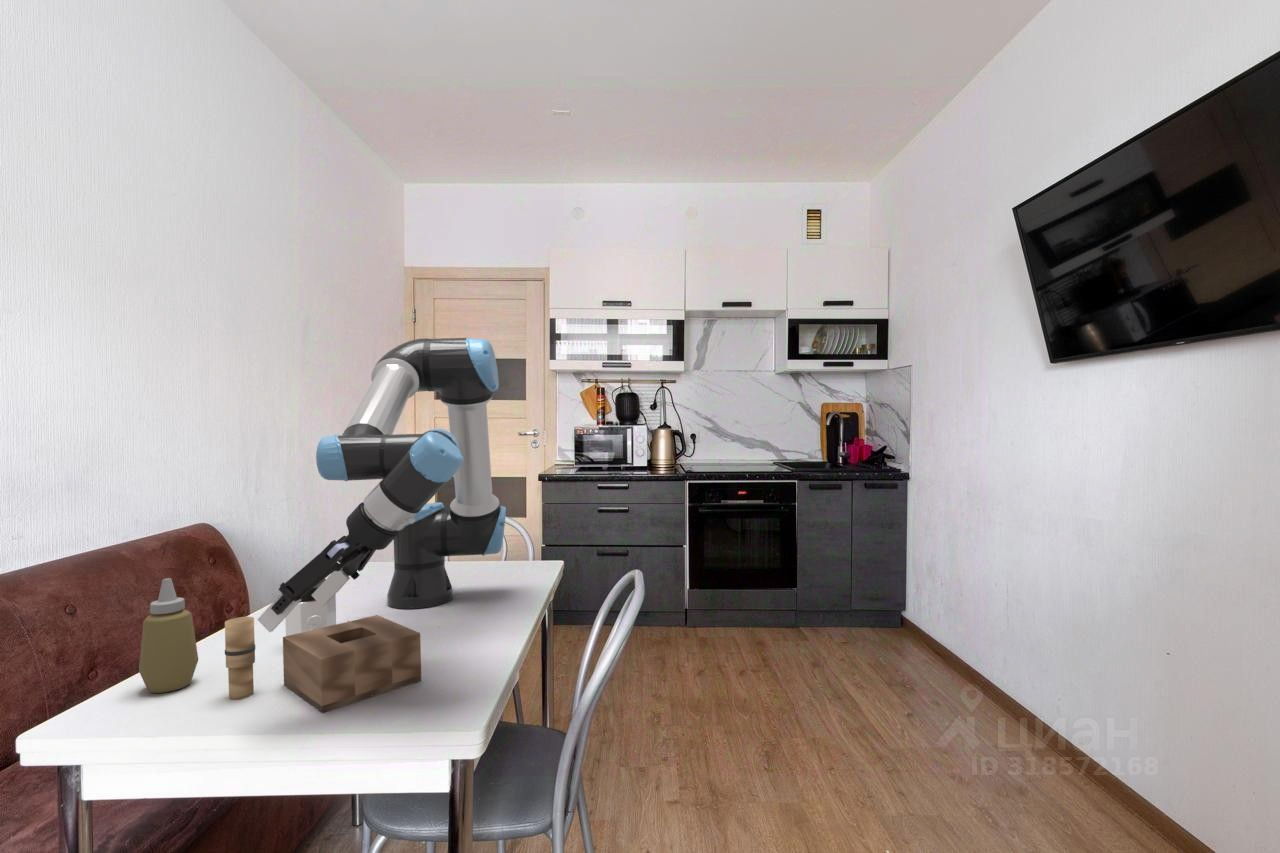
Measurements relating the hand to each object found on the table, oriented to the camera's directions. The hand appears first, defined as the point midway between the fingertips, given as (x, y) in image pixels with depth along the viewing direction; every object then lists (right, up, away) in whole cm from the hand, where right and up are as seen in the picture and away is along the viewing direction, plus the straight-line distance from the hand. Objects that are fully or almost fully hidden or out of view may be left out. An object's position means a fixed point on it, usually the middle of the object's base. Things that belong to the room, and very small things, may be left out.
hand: (293, 612), depth 104 cm
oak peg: (-9, -14, +1) cm, 16 cm away
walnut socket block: (+7, -13, +5) cm, 16 cm away
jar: (-10, -14, +25) cm, 31 cm away
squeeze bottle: (-23, -14, +5) cm, 28 cm away
